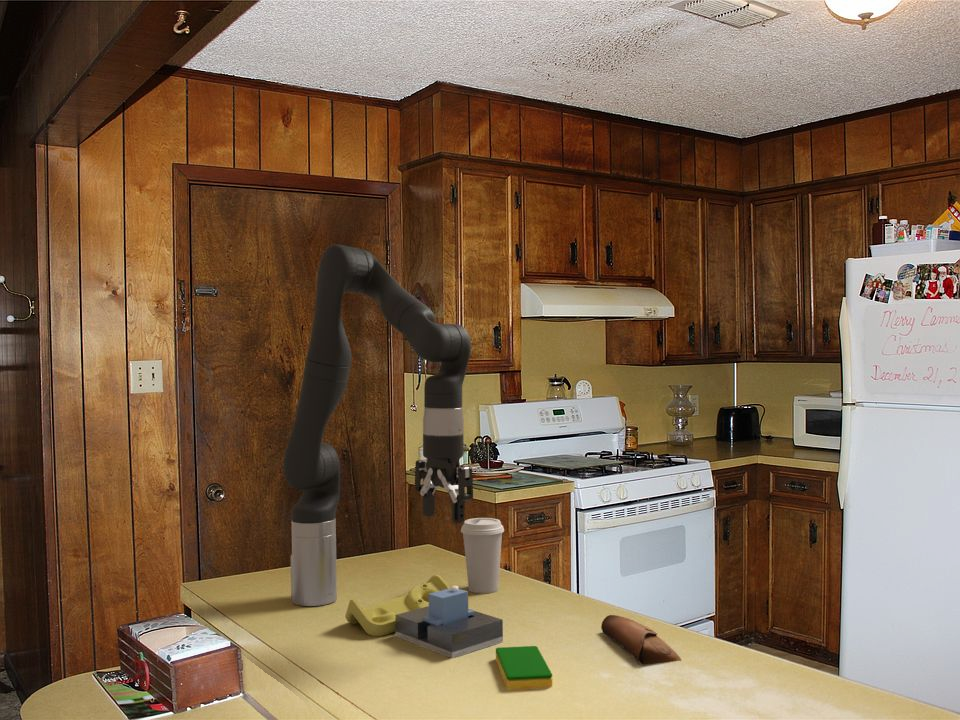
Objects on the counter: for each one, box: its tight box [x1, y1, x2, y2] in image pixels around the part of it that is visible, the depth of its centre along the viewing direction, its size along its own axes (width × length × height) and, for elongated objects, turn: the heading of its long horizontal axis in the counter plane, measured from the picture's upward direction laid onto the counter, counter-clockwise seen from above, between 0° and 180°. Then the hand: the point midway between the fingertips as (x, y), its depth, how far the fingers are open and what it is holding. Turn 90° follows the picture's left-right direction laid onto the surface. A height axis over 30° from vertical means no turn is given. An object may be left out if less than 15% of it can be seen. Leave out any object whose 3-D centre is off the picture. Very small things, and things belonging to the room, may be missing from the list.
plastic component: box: [345, 574, 451, 637], centre depth 171 cm, size 20×7×10 cm
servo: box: [422, 585, 475, 626], centre depth 160 cm, size 4×9×8 cm, turn 133°
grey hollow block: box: [395, 606, 504, 659], centre depth 160 cm, size 16×12×4 cm
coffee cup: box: [460, 517, 505, 594], centre depth 193 cm, size 10×10×15 cm
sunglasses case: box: [600, 614, 682, 666], centre depth 155 cm, size 18×7×7 cm
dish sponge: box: [495, 645, 553, 691], centre depth 143 cm, size 7×14×2 cm, turn 7°
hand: (443, 519), depth 163 cm, fingers open, 8 cm apart
